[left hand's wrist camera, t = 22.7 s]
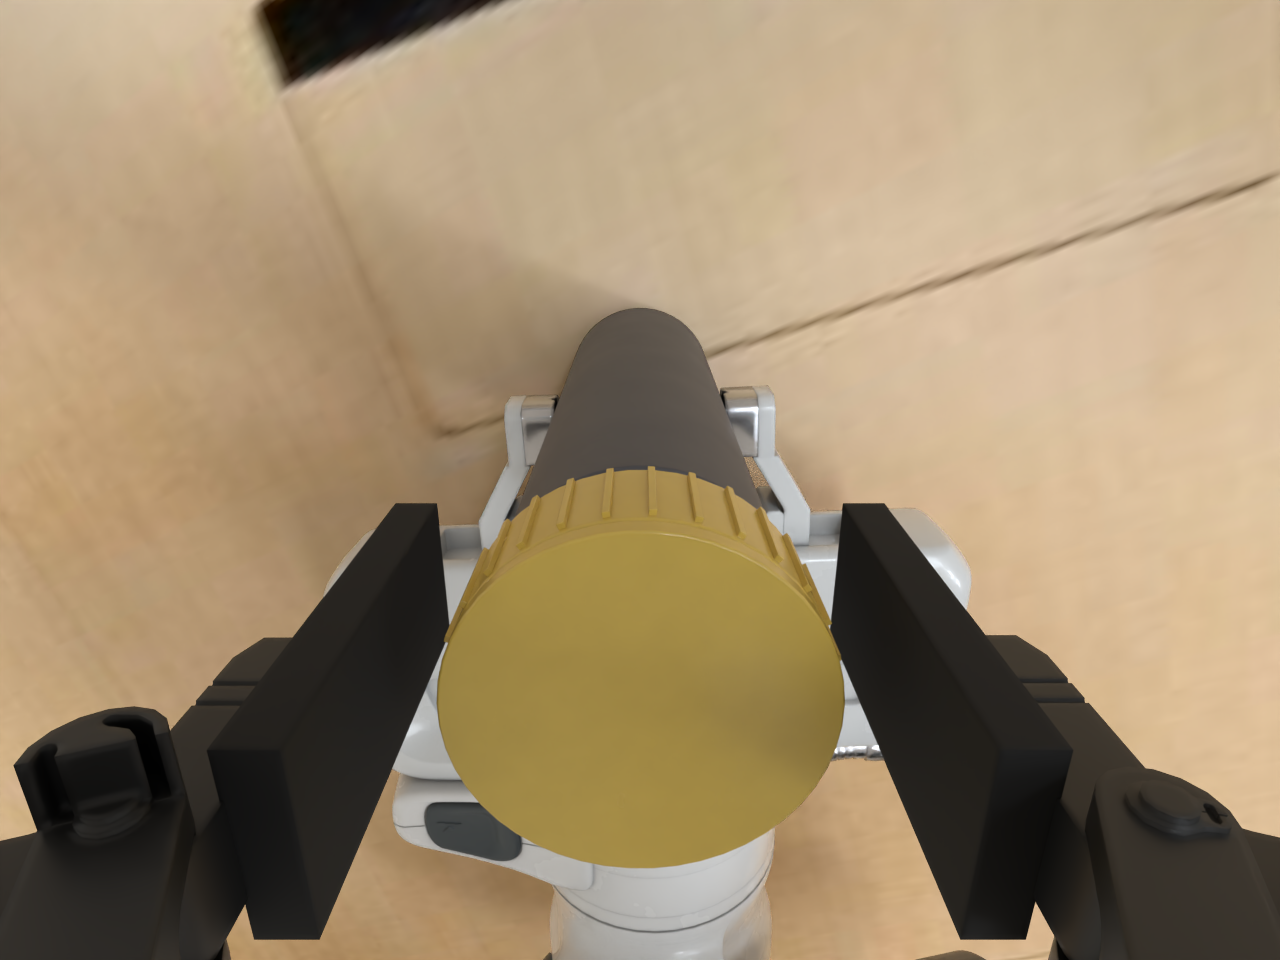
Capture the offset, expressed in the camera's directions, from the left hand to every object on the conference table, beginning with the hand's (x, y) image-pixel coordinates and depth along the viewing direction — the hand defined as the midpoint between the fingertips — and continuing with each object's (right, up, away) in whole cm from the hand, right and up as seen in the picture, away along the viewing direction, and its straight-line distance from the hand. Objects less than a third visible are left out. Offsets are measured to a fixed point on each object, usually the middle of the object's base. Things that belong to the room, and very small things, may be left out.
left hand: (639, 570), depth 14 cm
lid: (0, -1, -4) cm, 4 cm away
